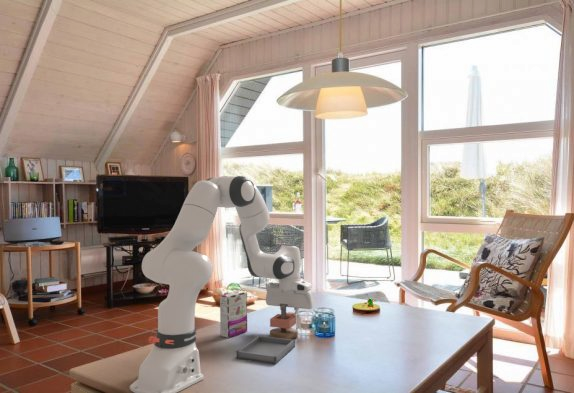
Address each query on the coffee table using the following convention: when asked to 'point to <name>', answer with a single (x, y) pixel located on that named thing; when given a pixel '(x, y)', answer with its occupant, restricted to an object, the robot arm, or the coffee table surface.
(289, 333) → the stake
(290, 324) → the orange hollow block
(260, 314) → the coffee table surface
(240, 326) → the candy bar box
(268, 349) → the tray
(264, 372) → the coffee table surface
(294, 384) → the coffee table surface
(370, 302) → the toy character
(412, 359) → the coffee table surface
